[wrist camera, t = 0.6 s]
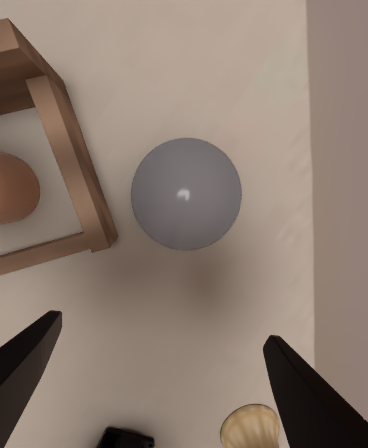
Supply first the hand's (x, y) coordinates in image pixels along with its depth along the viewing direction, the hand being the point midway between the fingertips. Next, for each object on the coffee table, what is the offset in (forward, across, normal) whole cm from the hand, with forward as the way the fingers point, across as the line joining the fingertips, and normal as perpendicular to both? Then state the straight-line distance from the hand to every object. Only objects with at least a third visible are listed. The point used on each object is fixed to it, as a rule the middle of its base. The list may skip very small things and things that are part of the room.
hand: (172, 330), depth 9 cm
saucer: (+15, -1, -2) cm, 15 cm away
